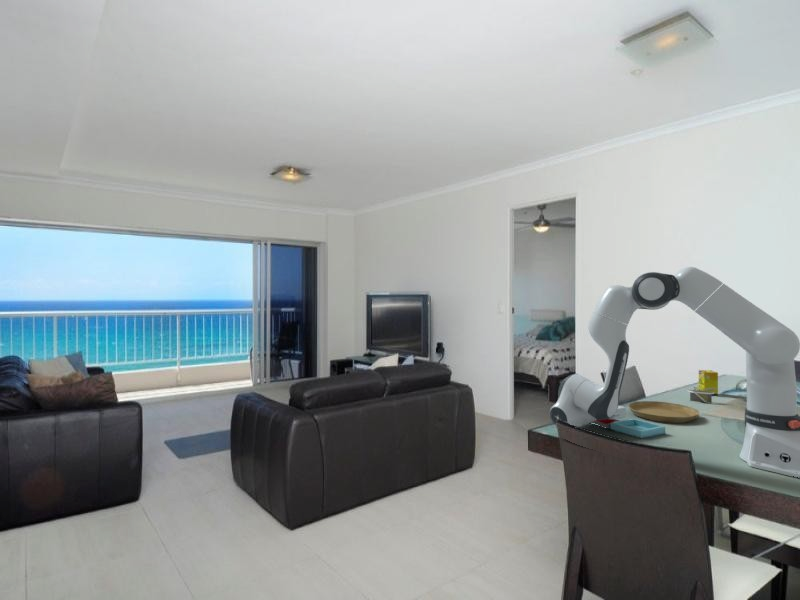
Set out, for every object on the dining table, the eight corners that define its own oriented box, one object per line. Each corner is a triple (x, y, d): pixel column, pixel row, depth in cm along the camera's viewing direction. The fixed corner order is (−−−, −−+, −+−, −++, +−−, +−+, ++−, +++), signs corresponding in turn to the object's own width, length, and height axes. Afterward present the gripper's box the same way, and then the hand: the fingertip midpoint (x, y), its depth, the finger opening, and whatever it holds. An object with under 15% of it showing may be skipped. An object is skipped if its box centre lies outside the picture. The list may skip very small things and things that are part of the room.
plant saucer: (695, 428, 166) (695, 419, 166) (621, 418, 180) (621, 409, 180) (702, 414, 185) (702, 406, 185) (634, 406, 199) (634, 398, 199)
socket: (624, 425, 169) (624, 421, 169) (607, 429, 165) (607, 424, 165) (603, 419, 177) (603, 415, 177) (586, 422, 173) (586, 418, 173)
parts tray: (665, 433, 159) (665, 426, 159) (641, 438, 153) (641, 431, 153) (633, 425, 169) (633, 418, 169) (610, 429, 164) (610, 422, 164)
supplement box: (698, 392, 225) (698, 369, 225) (711, 393, 224) (711, 370, 224) (704, 395, 219) (704, 371, 219) (718, 395, 218) (718, 372, 218)
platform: (727, 408, 196) (727, 392, 196) (677, 403, 205) (677, 388, 205) (724, 402, 207) (724, 387, 207) (676, 398, 215) (676, 383, 215)
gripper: (613, 407, 155) (635, 401, 163) (560, 396, 171) (581, 391, 179) (613, 426, 155) (635, 419, 163) (560, 413, 171) (581, 408, 179)
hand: (606, 404), depth 171 cm, fingers closed on beverage can, 6 cm apart
